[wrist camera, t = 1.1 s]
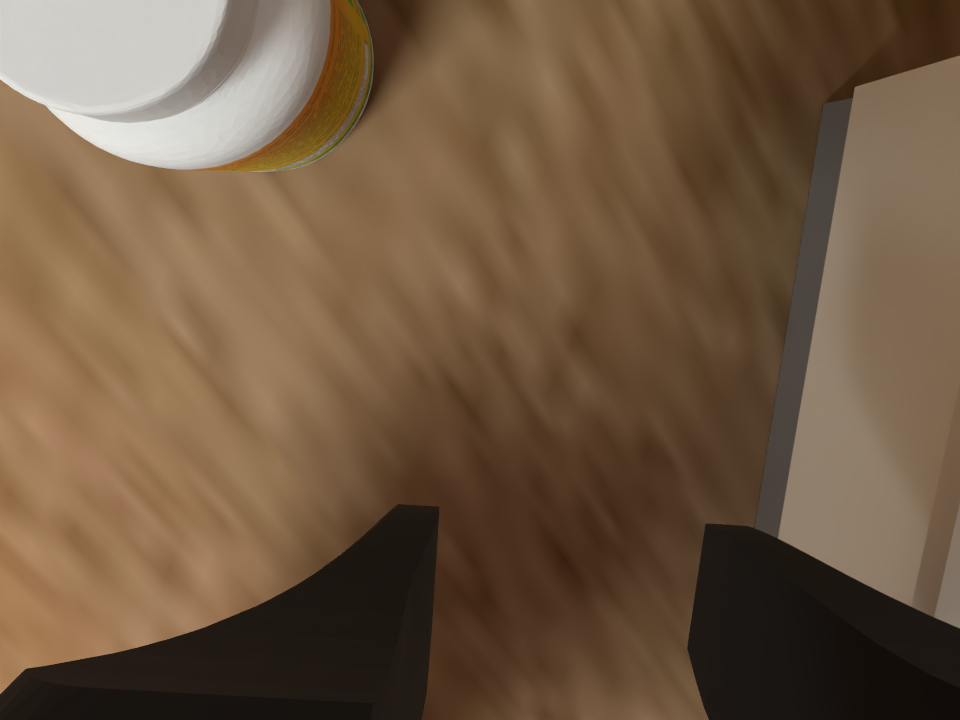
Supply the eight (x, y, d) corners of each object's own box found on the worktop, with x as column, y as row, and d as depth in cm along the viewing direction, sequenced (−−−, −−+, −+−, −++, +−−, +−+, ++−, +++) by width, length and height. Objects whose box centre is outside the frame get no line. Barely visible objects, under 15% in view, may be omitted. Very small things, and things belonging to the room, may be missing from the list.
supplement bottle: (414, 15, 19) (359, -138, 10) (318, 210, 20) (186, 240, 11) (213, -102, 19) (-48, -384, 9) (125, 105, 20) (-192, 41, 10)
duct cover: (874, 1270, 13) (789, 1258, 13) (751, 870, 21) (699, 864, 21) (1201, 9, 9) (1072, 2, 9) (893, 89, 17) (825, 84, 17)
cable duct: (966, 790, 25) (1033, 872, 22) (714, 776, 24) (746, 858, 22) (1132, 127, 20) (1243, 119, 17) (823, 103, 20) (883, 91, 17)
